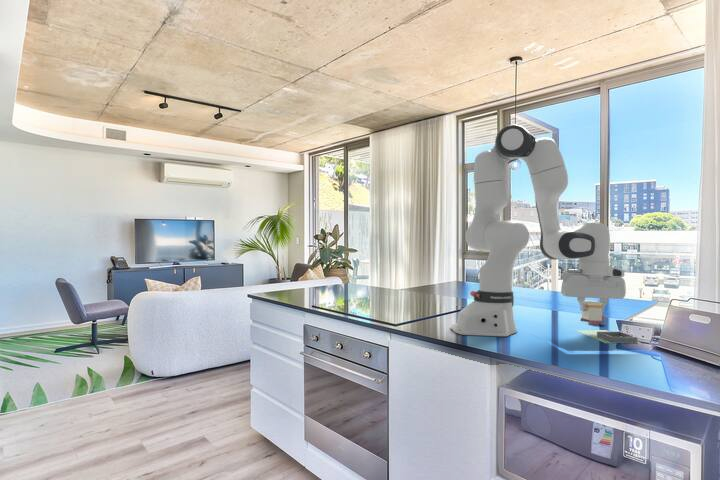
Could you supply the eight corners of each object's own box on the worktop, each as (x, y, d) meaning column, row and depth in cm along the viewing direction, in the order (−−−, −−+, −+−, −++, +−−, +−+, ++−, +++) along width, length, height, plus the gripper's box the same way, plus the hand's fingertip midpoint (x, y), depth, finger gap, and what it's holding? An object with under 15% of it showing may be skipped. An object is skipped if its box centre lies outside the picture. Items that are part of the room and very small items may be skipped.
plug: (589, 320, 134) (589, 302, 134) (582, 317, 139) (582, 300, 139) (601, 320, 135) (602, 302, 135) (594, 318, 139) (594, 300, 139)
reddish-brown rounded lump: (600, 332, 149) (609, 315, 148) (587, 326, 149) (597, 309, 149) (590, 326, 158) (598, 311, 158) (578, 321, 159) (587, 305, 158)
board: (604, 346, 124) (604, 337, 124) (574, 333, 141) (574, 325, 141) (640, 345, 124) (640, 337, 124) (606, 333, 141) (606, 325, 141)
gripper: (568, 269, 133) (566, 311, 133) (629, 272, 134) (627, 314, 134) (558, 268, 140) (556, 308, 140) (616, 270, 140) (615, 310, 140)
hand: (592, 311), depth 137 cm, fingers closed on plug, 4 cm apart
